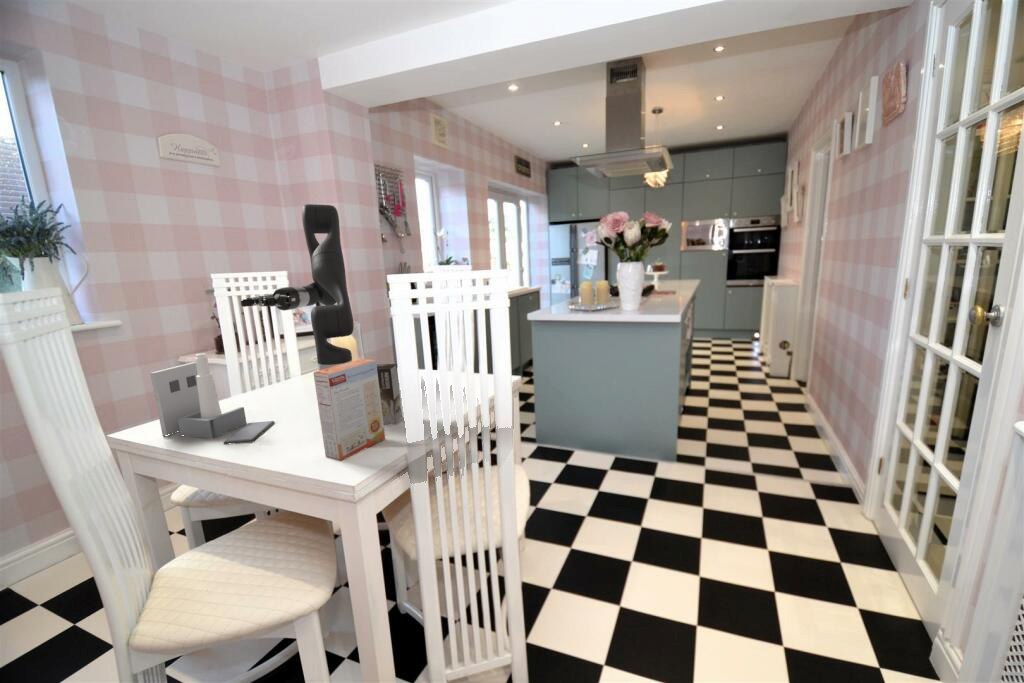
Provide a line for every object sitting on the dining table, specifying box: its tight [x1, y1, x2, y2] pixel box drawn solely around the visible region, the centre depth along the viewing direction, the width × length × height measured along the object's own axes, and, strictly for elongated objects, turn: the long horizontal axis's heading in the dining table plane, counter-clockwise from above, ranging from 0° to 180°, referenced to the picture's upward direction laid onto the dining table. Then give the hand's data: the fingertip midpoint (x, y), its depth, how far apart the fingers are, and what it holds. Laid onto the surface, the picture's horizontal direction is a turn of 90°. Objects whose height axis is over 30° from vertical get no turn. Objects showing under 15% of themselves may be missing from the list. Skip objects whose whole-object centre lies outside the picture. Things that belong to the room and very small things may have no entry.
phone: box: [223, 420, 275, 445], centre depth 124 cm, size 7×14×1 cm, turn 6°
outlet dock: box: [150, 361, 248, 439], centre depth 127 cm, size 17×14×18 cm
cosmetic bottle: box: [194, 352, 223, 419], centre depth 125 cm, size 6×6×22 cm
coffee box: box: [376, 363, 403, 426], centre depth 126 cm, size 9×6×16 cm
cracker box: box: [313, 358, 386, 461], centre depth 108 cm, size 14×6×21 cm, turn 149°
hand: (253, 303), depth 137 cm, fingers open, 8 cm apart
